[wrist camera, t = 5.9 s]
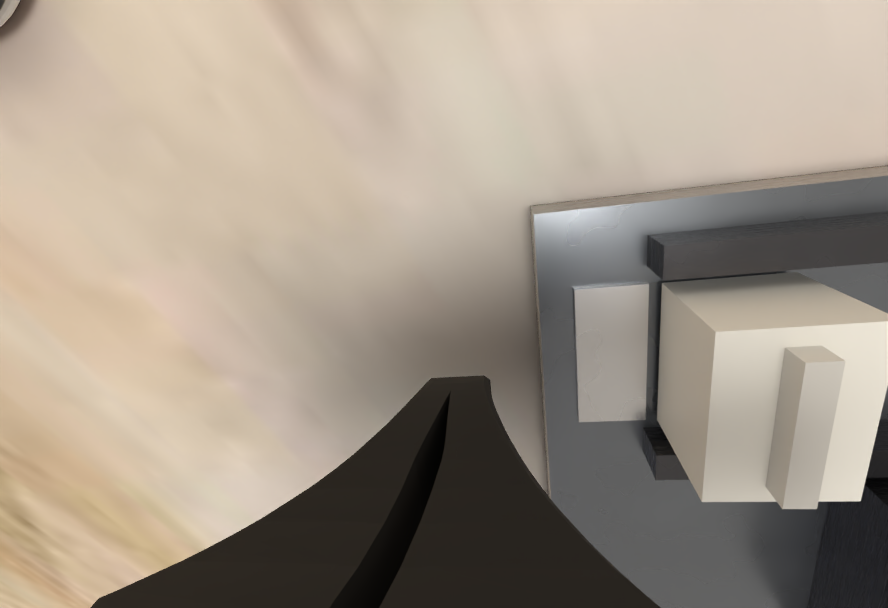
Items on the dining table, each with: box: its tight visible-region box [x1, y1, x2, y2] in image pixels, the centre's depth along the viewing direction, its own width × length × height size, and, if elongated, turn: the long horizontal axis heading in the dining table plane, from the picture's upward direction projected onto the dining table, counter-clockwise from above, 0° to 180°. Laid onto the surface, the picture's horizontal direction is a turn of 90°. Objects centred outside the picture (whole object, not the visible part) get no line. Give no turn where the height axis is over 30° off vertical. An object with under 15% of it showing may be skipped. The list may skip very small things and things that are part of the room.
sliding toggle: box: [657, 272, 888, 509], centre depth 10 cm, size 4×3×4 cm
